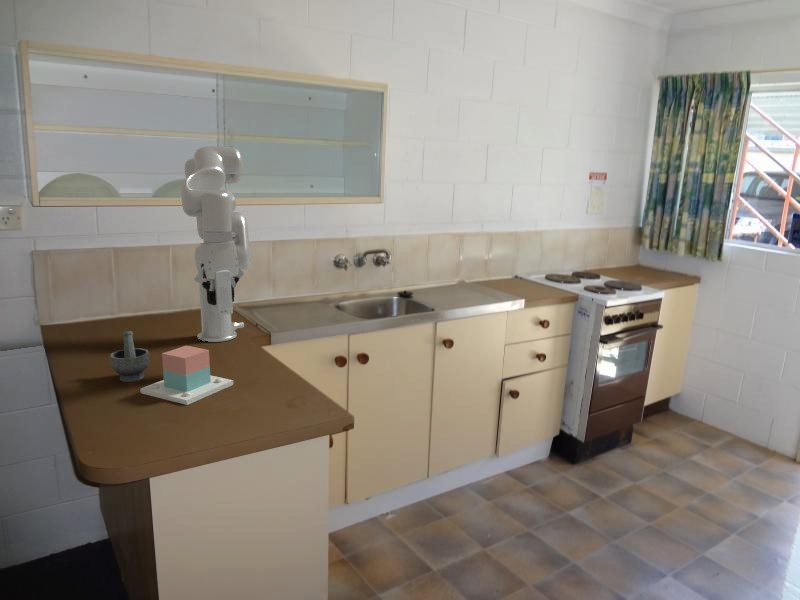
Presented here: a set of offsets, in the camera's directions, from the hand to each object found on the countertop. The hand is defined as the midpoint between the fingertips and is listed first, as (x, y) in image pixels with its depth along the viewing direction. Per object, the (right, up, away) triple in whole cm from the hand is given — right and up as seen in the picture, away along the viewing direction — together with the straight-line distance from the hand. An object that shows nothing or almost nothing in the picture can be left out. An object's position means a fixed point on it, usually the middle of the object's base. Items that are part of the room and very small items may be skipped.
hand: (221, 302), depth 170 cm
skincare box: (0, -3, +1) cm, 3 cm away
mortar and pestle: (-23, -21, -4) cm, 31 cm away
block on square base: (-5, -22, -12) cm, 26 cm away
